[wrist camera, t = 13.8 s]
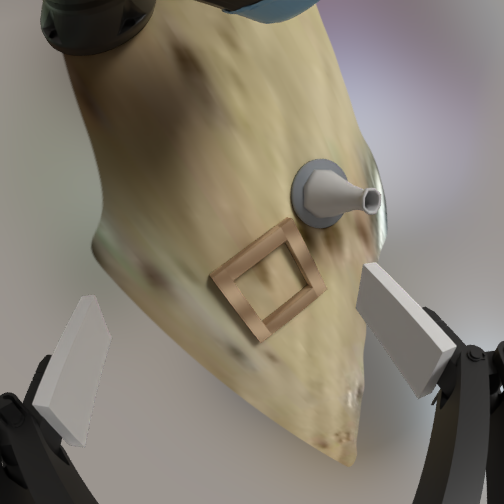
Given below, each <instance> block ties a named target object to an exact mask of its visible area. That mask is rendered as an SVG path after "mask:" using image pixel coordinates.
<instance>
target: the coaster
mask: <svg viewBox="0 0 504 504" xmlns="http://www.w3.org/2000/svg"><path fill="white" fill-rule="evenodd" d="M314 169H316V170H332V171H333V172H335V173H336V174H338V175H339V176H340V177H342V178H343V179H345V180H346V181H348V180H347V178H346V175H345V173H344V172H343V170H342V169H341V168H340V167H339V166H338V165H337V164H336V163H334V162H332V161H330V160H327V159H315V160H312V161H309V162H307V163H306V164H304V165H303V166H302V167H301V168H300V169H299V171H298V172H297V174H296V175H295V178H294V180H293V183H292V188H291V200H292V205H293V208H294V211H295V213H296V214H297V216H298V217H299V219H300V220H301V221H302V222H304V223H305V224H307V225H309V226H312V227H315V228H326V227H329V226H331V225H333V224H334V223H336V222H337V221H338V220H339V219H340V218H341V217H342V215H343V214H344V213H343V214H340V215H337V216H334V217H325V218H317V217H315V216H314V215H313V214H312V213H311V212H309V211H308V210H307V209H306V208H304V185H305V183H306V182H307V180H308V178H309V177H310V175H311V174H312V172H313V170H314Z"/></svg>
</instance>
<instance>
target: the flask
mask: <svg viewBox="0 0 504 504" xmlns="http://www.w3.org/2000/svg"><path fill="white" fill-rule="evenodd" d="M380 206H381V194H380V193H379V192H378V191H377V189H376V188H365V189H362V188H359V187H357V186H354V185H353V184H351V183H350V182H348V181H346V180H345V179H343V178H342V177H340V176H339V175H338V174H336V173H335V172H333V171H332V170H316V169H314V170H313V172H312V174H311V175H310V177H309V178H308V180H307V182H306V183H305V185H304V208H306V209H307V210H308V211H309V212H311V213H312V214H313V215H314V216H315V217H317V218H325V217H334V216H337V215H340V214H343V213H346V212H349V211H352V210H362V211H364V212H365V213H366V214H376V213H377V211H378V209H379V208H380Z"/></svg>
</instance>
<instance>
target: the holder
mask: <svg viewBox="0 0 504 504" xmlns="http://www.w3.org/2000/svg"><path fill="white" fill-rule="evenodd" d="M284 242H285V243H286V245H287V247H288V249H289V251H290V252H291V254H292V256H293V258H294V260H295V262H296V263H297V265H298V267H299V269H300V271H301V273H302V275H303V276H304V278H305V280H306V282H307V284H308V285H307V286H305V287H304V288H303V289H302V290H300V291H299V292H298V293H297V294H296V295H294V296H293V297H292V298H291V299H289V300H288V301H287V302H286V303H284V304H283V305H282V306H281V307H279V308H278V309H277V310H276V311H274V312H273V313H272V314H270V315H269V316H268V317H267V318H265V319H264V320H263V321H261V319H260V318H259V317H258V315H257V314H256V312H255V311H254V310H253V308H252V307H251V305H250V304H249V303H248V301H247V300H246V298H245V297H244V295H243V294H242V293H241V291H240V290H239V288H238V287H237V286H236V284H235V283H234V281H233V280H235V279H236V278H237V277H239V276H240V275H241V274H243V273H244V272H245V271H247V270H248V269H249V268H251V267H252V266H253V265H255V264H256V263H257V262H259V261H260V260H261V259H263V258H264V257H265V256H267V255H268V254H269V253H271V252H272V251H273V250H275V249H276V248H277V247H279V246H280V245H281V244H282V243H284ZM209 275H210V277H211V278H212V279H213V281H214V282H215V284H216V285H217V286H218V288H219V289H220V290H221V292H222V293H223V294H224V296H225V297H226V298H227V300H228V301H229V302H230V304H231V305H232V306H233V308H234V309H235V310H236V312H237V313H238V314H239V316H240V317H241V318H242V320H243V321H244V322H245V323H246V325H247V326H248V327H249V329H250V330H251V331H252V333H253V334H254V335H255V336H256V338H257V339H258V340H259V341H260V343H262V342H263V341H264V340H266V339H267V338H268V337H269V336H271V335H272V334H273V333H275V332H276V331H277V330H278V329H280V328H281V327H282V326H283V325H285V324H286V323H287V322H288V321H290V320H291V319H292V318H293V317H295V316H296V315H297V314H298V313H300V312H301V311H302V310H303V309H304V308H306V307H307V306H308V305H309V304H310V303H312V302H313V301H314V300H315V299H316V298H318V297H319V296H320V295H321V294H322V293H323V292H325V291H326V290H327V287H326V285H325V283H324V281H323V279H322V276H321V274H320V272H319V270H318V268H317V266H316V264H315V262H314V260H313V258H312V256H311V254H310V252H309V250H308V248H307V246H306V244H305V242H304V240H303V238H302V236H301V234H300V232H299V230H298V228H297V227H296V225H295V223H294V221H293V219H291V218H288V217H287V218H285V219H284V220H283V221H281V222H280V223H279V224H277V225H276V226H274V227H273V228H272V229H270V230H269V231H268V232H266V233H265V234H264V235H262V236H261V237H259V238H258V239H257V240H255V241H254V242H253V243H251V244H250V245H249V246H247V247H246V248H244V249H243V250H242V251H240V252H239V253H238V254H236V255H235V256H234V257H232V258H231V259H230V260H228V261H227V262H225V263H224V264H223V265H221V266H220V267H219V268H217V269H216V270H215V271H213V272H212V273H211V274H209Z"/></svg>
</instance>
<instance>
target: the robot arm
mask: <svg viewBox="0 0 504 504" xmlns="http://www.w3.org/2000/svg"><path fill="white" fill-rule="evenodd" d="M195 1H198V2H202V3H205V4H208V5H211V6H214V7H217V8H220V9H222V11H223V12H225V13H228V14H238V15H240V16H243V17H246V18H249V19H252V20H254V21H257V22H260V23H266V24H269V23H279V22H283V21H286V20H289V19H291V18H293V17H295V16H297V15H299V14H301V13H302V12H304V11H306V10H307V9H309V8H310V7H312V6H313V5H314V4H316V3H317V2H318V1H319V0H195ZM155 3H156V0H43V4H42V10H41V19H40V20H41V21H40V22H41V29H42V32H43V34H44V36H45V38H46V39H47V41H48V42H49V44H50V45H51V46H52V47H53V48H54V49H56V50H58V51H60V52H62V53H65V54H69V55H79V56H82V55H92V54H97V53H101V52H104V51H107V50H110V49H113V48H115V47H117V46H119V45H121V44H123V43H124V42H126V41H128V40H129V39H131V38H132V37H133V36H135V35H136V34H137V33H138V32H139V31H140V30H141V29H142V28H143V27H144V26H145V25H146V23H147V22H148V21H149V19H150V17H151V16H152V14H153V11H154V8H155ZM356 309H357V311H358V312H359V314H360V315H361V316H362V318H363V319H364V321H365V322H366V323H367V325H368V326H369V327H370V329H371V330H372V332H373V333H374V335H375V336H376V337H377V339H378V340H379V342H380V343H381V345H382V346H383V347H384V349H385V350H386V352H387V353H388V355H389V356H390V358H391V359H392V360H393V362H394V363H395V365H396V366H397V368H398V369H399V371H400V372H401V374H402V375H403V377H404V378H405V380H406V381H407V383H408V384H409V386H410V387H411V389H412V390H413V392H414V394H415V395H416V397H417V398H418V399H419V398H421V397H423V396H426V395H428V394H430V393H432V391H433V389H434V388H435V386H436V384H438V386H439V387H440V390H439V392H438V393H437V395H436V397H435V398H434V400H433V401H432V404H431V405H434V404H435V402H436V400H437V404H436V412H435V418H434V423H433V429H432V433H431V438H430V443H429V447H428V452H427V456H426V460H425V464H424V468H423V472H422V475H421V479H420V482H419V485H418V488H417V491H416V494H415V498H414V500H413V503H412V504H480V499H481V494H482V489H483V483H484V477H485V470H486V479H487V504H504V391H503V392H502V393H501V391H500V387H501V386H502V385H503V389H504V341H502V342H501V343H500V344H499V345H498V347H497V348H496V350H495V351H490V352H484V351H483V350H482V349H481V348H479V347H477V346H475V345H467V346H466V345H465V344H464V343H463V342H462V341H461V340H460V338H459V337H458V336H457V335H456V334H455V333H454V332H453V331H452V330H451V329H450V328H449V327H448V326H447V324H446V323H445V322H444V321H442V320H441V318H440V317H439V316H438V315H437V314H436V313H435V312H434V311H432V310H430V309H428V308H427V307H423V308H421V307H420V306H419V305H418V304H417V303H416V302H415V301H414V300H413V299H412V298H411V296H410V295H408V294H407V292H406V291H405V290H404V289H403V288H402V287H401V286H400V285H399V284H398V283H397V282H396V281H395V280H394V279H393V278H392V277H391V276H389V275H388V274H387V273H386V272H385V271H384V270H383V269H382V268H381V267H380V266H379V265H378V264H377V263H376V262H374V263H367V264H363V268H362V274H361V281H360V287H359V293H358V298H357V304H356ZM111 340H112V337H111V334H110V332H109V329H108V327H107V324H106V322H105V320H104V317H103V314H102V312H101V309H100V306H99V304H98V301H97V298H96V295H84V296H82V297H81V299H80V300H79V302H78V304H77V306H76V308H75V310H74V312H73V313H72V315H71V317H70V319H69V321H68V323H67V325H66V327H65V329H64V331H63V333H62V335H61V337H60V339H59V341H58V344H57V346H56V348H55V350H54V352H53V354H52V355H46V357H44V359H43V360H42V361H41V362H40V363H39V365H38V368H37V370H36V374H34V377H33V381H31V384H30V386H29V389H28V391H27V394H26V396H25V398H24V401H23V404H22V402H21V401H20V400H19V399H18V397H17V396H16V395H15V394H13V393H8V392H7V393H4V394H2V395H0V504H98V502H97V501H96V499H95V498H94V497H93V495H92V494H91V492H90V491H89V489H88V488H87V486H86V485H85V483H84V482H83V480H82V479H81V477H80V476H79V474H78V472H77V470H76V469H75V467H74V465H73V464H72V462H71V460H70V459H69V457H68V455H67V453H66V451H65V450H64V448H63V447H62V446H61V445H60V444H61V440H62V438H63V439H64V440H65V441H66V442H67V443H68V444H69V445H71V446H78V447H85V445H86V440H87V435H88V430H89V425H90V420H91V415H92V411H93V406H94V402H95V398H96V394H97V390H98V386H99V382H100V378H101V375H102V371H103V367H104V364H105V360H106V357H107V353H108V350H109V346H110V343H111ZM2 463H3V466H2Z"/></svg>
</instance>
